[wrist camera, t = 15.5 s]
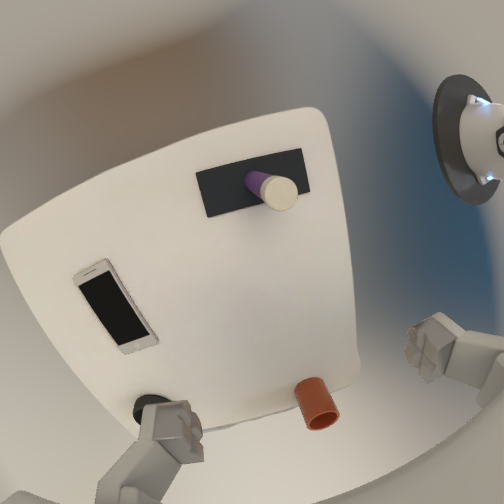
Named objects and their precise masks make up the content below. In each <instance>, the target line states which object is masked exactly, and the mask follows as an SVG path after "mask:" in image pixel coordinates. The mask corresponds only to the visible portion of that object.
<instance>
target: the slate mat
mask: <svg viewBox="0 0 504 504" xmlns="http://www.w3.org/2000/svg"><path fill="white" fill-rule="evenodd" d="M251 171H258V172H262V173H267V174H271V175H275V176H281V177H285V178H288V179H290V180H292V181H293V182H294V184H295V185H296V187H297V190H298V194H302V193H307V192H310V188H309V183H308V178H307V173H306V168H305V163H304V158H303V154H302V149H301V148H299V149H294V150H289V151H284V152H279V153H274V154H269V155H265V156H260V157H256V158H251V159H247V160H243V161H239V162H235V163H231V164H227V165H223V166H219V167H215V168H211V169H208V170H204V171H201V172H197V173H196V176H197V180H198V184H199V188H200V191H201V195H202V199H203V202H204V206H205V209H206V213H207V217H212V216H216V215H219V214H223V213H227V212H230V211H234V210H238V209H242V208H245V207H249V206H253V205H257V204H261V203H265V202H264V201H263V200H262V199H261V198H259V197H258V196H257V195H255V194H254V193H253V192H252V191H250V190H249V189H248V188H247V187H246V185H245V182H244V180H245V177H246V175H247V174H248V173H249V172H251Z"/></svg>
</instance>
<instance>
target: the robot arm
mask: <svg viewBox="0 0 504 504" xmlns="http://www.w3.org/2000/svg"><path fill="white" fill-rule="evenodd" d="M459 135H460V143H461V148H462V152H463V155H464V158H465V160H466V162H467V164H468V166H469V167H470V169H471V170H472V171H473V172H474V173H475V174H476V177H477V179H478V182H479V183H480V184H482V185H484V184H486V183H487V182H489V181H490V180H492V179H497V180H503V181H504V105H502V104H500V103H489V102H487V101H485V100H483V99H481V98H477V97H476V96H474V95H468V97H467V103H466V107H465V108H464V110H463V112H462V114H461V117H460V124H459ZM407 337H408V338H409V341H408V342H407V344H406V347H405V353H406V357H407V360H408V361H409V363H410V364H411V365H412V366H413V367H416V368H419V375H420V376H421V377H422V378H423V379H424V380H425V381H426V382H427V384H429V383H430V382H432V381H434V380H435V379H437V378H438V377H440V376H442V375H443V374H444V375H445V376H447V377H450V378H452V379H455V380H457V381H460V382H463V383H465V384H468V385H470V386H473V387H476V388H479V389H481V390H480V392H479V394H478V396H477V398H476V402H477V403H478V404H479V406H480V407H481V408H482V410H481V411H480V412H479V413H478V414H477V415H475V416H474V417H473V418H472V419H471V420H469V421H468V422H467V423H466V424H465V425H463V426H462V427H461V428H460V429H458V430H457V431H456V432H454V433H453V434H452V435H450V436H449V437H447V438H446V439H445V440H443V441H442V442H440V443H439V444H437V445H436V446H435V447H433V448H431V449H430V450H428V451H427V452H425V453H423V454H422V455H420V456H419V457H417V458H415V459H414V460H412V461H410V462H408V463H407V464H405V465H403V466H401V467H400V468H398V469H396V470H394V471H392V472H390V473H388V474H386V475H384V476H382V477H380V478H378V479H376V480H374V481H372V482H369V483H367V484H365V485H363V486H360V487H358V488H355V489H353V490H350V491H348V492H345V493H343V494H340V495H337V496H334V497H332V498H329V499H326V500H323V501H319V502H316V503H313V504H504V337H501V336H496V335H490V334H485V333H480V332H474V331H467V332H466V331H465V330H463V329H462V328H461V327H459V326H458V325H457V324H456V323H455V322H453V321H452V320H451V319H449V318H448V317H447V316H446V315H444V314H443V313H441V312H438V313H436V314H434V315H433V316H431V317H430V318H427V319H425V320H423V321H421V322H420V323H418V324H416V325H414V326H412V327H410V329H409V330H408V334H407ZM202 437H203V433H202V427H201V422H200V420H199V418H198V416H197V414H196V413H194V412H192V411H191V405H190V404H189V402H188V401H187V400H182V401H174V402H166V403H158V404H148V405H145V407H144V408H143V413H142V419H141V426H140V432H139V439H138V441H136V442H134V443H133V444H132V445H131V446H130V447H129V449H128V450H127V451H126V452H125V453H124V454H123V455H122V456H121V458H120V459H119V460H118V461H117V462H116V463H115V464H114V465H113V466H112V468H111V469H110V470H109V471H108V472H107V473H106V474H105V475H104V476H103V477H102V478H101V480H100V481H99V482H98V486H97V492H96V499H95V504H162V503H161V502H160V501H161V500H162V498H163V496H164V495H165V493H166V491H167V490H168V488H169V486H170V485H171V483H172V481H173V480H174V478H175V476H176V474H177V473H178V471H179V469H180V467H181V464H190V463H198V462H204V453H203V446H202V444H201V443H200V442H199V441H200V439H201V438H202ZM1 504H59V503H56V502H53V501H50V500H47V499H44V498H41V497H39V496H36V495H33V494H31V493H29V492H26V491H17V492H15V493H14V494H12V495H11V496H10V497H8V498H7V499H6V500H5V501H3V502H2V503H1Z"/></svg>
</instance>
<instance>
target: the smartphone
mask: <svg viewBox="0 0 504 504" xmlns="http://www.w3.org/2000/svg"><path fill="white" fill-rule="evenodd" d="M73 281H74V283H75V284H76V286H77V288H78V289H79V291H80V293H81V294H82V296H83V297H84V299H85V301H86V302H87V304H88V305H89V307H90V308H91V310H92V311H93V313H94V314H95V316H96V317H97V319H98V320H99V322H100V323H101V325H102V326H103V327H104V329H105V330H106V332H107V333H108V334H109V336H110V337H111V339H112V340H113V341H114V343H115V344H116V345H117V347H118V348H119V349H120V350H121V352H122V353H123V354H125V355H126V354H129V353H132V352H135V351H138V350H141V349H144V348H147V347H150V346H153V345H156V344H157V342H158V339H157V337H156V336H155V334H154V333H153V331H152V330H151V329H150V327H149V326H148V324H147V323H146V321H145V320H144V318H143V317H142V315H141V314H140V312H139V310H138V309H137V307H136V306H135V304H134V303H133V301H132V299H131V298H130V296H129V295H128V293H127V291H126V290H125V288H124V286H123V285H122V283H121V281H120V280H119V278H118V276H117V274H116V273H115V271H114V269H113V267H112V266H111V264H110V262H109V260H108V259H104V260H102V261H100V262H98V263H96V264H95V265H93V266H91V267H89V268H87V269H85V270H83V271H82V272H80V273H78V274H76V275H75V276H74V277H73Z"/></svg>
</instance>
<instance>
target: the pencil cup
mask: <svg viewBox="0 0 504 504" xmlns="http://www.w3.org/2000/svg"><path fill="white" fill-rule="evenodd" d="M295 395H296V399H297V401H298V404H299V407H300V409H301V412H302V415H303V417H304V420H305V423H306V426H307V428H308V429H310V430H321V429H324V428H327V427H329V426H330V425H332V424H334V423H335V422H336V421H337V420H338V418H339V411H338V409H337V407H336V406H335V403H334V401H333V399H332V397H331V395H330V393H329V391H328V389H327V387H326V385H325V383H324V382H323V380H322V379H320V378H309V379H306V380H304V381H302V382H301V383H299V384H298V385H297V387H296V388H295Z"/></svg>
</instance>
